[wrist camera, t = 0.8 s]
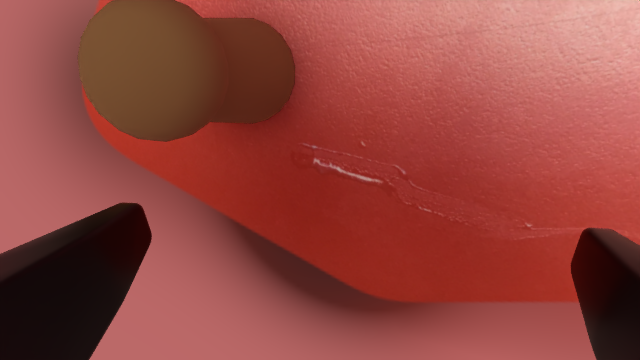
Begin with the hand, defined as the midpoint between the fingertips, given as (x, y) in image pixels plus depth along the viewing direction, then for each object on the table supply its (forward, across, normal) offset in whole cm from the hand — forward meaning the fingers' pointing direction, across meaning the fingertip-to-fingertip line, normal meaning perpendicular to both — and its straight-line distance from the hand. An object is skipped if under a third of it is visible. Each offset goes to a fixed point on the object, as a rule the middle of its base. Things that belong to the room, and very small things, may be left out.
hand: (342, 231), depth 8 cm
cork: (+16, +8, +1) cm, 18 cm away
